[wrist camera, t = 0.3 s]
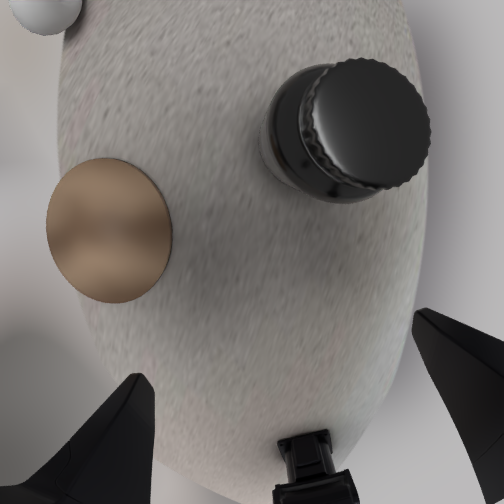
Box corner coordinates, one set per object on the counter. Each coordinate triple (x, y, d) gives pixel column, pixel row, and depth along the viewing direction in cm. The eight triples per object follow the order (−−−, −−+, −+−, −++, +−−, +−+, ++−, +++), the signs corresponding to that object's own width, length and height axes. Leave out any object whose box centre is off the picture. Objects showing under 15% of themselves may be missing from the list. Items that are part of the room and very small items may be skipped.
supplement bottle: (239, 127, 19) (232, 72, 7) (318, 86, 18) (391, 13, 6) (288, 207, 20) (342, 255, 9) (363, 163, 20) (472, 168, 8)
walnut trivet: (192, 282, 22) (191, 286, 21) (80, 309, 23) (76, 313, 22) (146, 135, 19) (143, 134, 18) (37, 190, 19) (32, 191, 18)
